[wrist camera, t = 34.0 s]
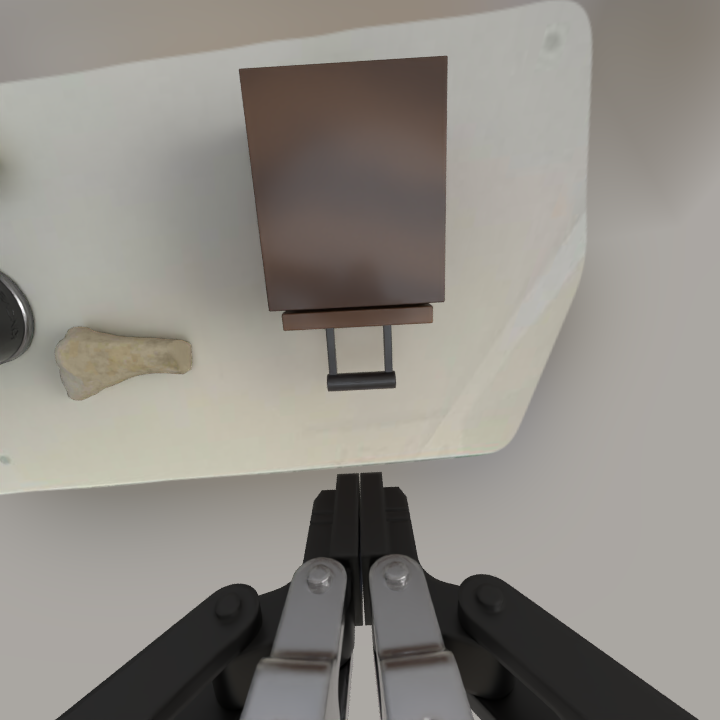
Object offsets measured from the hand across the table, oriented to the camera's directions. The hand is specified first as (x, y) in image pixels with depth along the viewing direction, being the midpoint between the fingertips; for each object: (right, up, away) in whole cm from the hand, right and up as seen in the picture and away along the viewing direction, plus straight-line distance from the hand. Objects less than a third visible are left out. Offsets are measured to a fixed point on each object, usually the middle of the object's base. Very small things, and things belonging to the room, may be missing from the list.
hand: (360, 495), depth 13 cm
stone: (-21, +5, +23) cm, 31 cm away
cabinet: (-1, +17, +19) cm, 25 cm away
